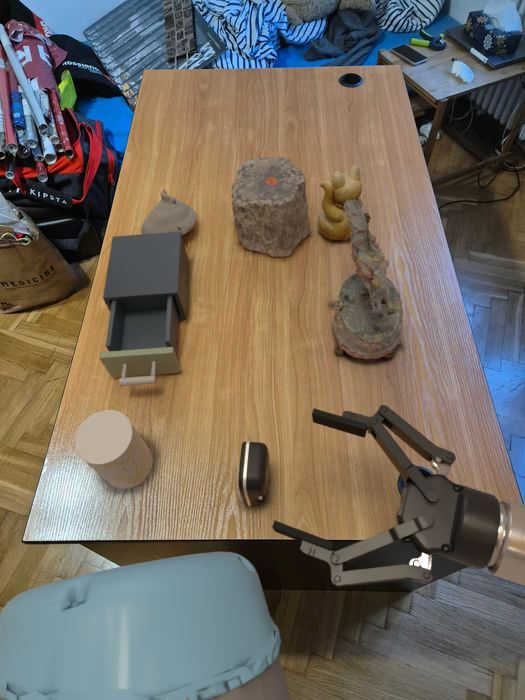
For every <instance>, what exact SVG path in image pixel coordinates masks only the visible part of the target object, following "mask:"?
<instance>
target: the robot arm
mask: <svg viewBox="0 0 525 700" xmlns="http://www.w3.org/2000/svg"><path fill="white" fill-rule="evenodd" d="M311 417H312V423H314V424H316V425H321V426H323V427H327V428H330V429H333V430H336V431H341V432H343V433H346V434H350V435H354V436H357V437H360V438H363V439H366V436H367V434H368V435H371V436H372V438H373V439H374V441H375V442H376V443H377V445H378V446H379V447H380V449H381V450H382V452H383V453H384V454H385V455H386V457H387V459H388V460H389V461H390V463H391V464H392V465H393V466H394V468H395V469H396V471H397V472H398V473H399V475H400V477H401V479H402V481H403V482H404V484H405V485H404V486H403V488H402V491H401V494H400V506H399V507H398V509H397V511H396V515H395V520H396V524H397V525H396V526H393V527H391V528H390V529H388V530H385V531H383V532H382V531H381V532H380V533H377V534H375V535H372V536H370V537H368V538H365V539H363V540H360V541H358V542H355V543H352V544H350V545H348V546H345V547H343V548H341V549H340V548H339V549H338V550H335V551H334V546H335V545H334V543H335V542H334V541H331V540H329V539H326V538H323V537H320V536H317V535H315V534H312V533H309V532H307V531H305V530H301V529H298V528H296V527H294V526H291V525H288V524H285V523H283V522H280V521H277V520H273V523H272V526H271V528H272V529H273V531H274V532H275V533H277V534H279V535H282V536H285V537H287V538H290V539H292V540H295V541H298V542H301V544H300V547H299V551H300V552H301V553H302V554H303V555H304V556H307V557H310V558H312V559H315V560H317V561H319V562H322V563H325V564H327V565H328V566H329V568H330V579H331V581H330V582H331V584H332V586H333V587H335V588H347V587H355V586H363V585H371V584H372V585H373V584H380V583H381V584H382V583H388V582H397V581H398V582H399V581H409V582H413V583H417V584H421V585H427V584H429V583H431V582H432V581H433V579H434V573H433V571H432V563H433V557H435V556H438V557H443V558H445V559H448V560H451V561H453V562H456V563H459V564H462V565H465V566H468V567H471V568H473V569H476V570H480V571H481V570H482V569H485V568H487V570H488V572H489V573H490V574H491V576H496V577H499V578H501V579H504V580H506V581H510V582H513V583H516V584H517V585H521V586H524V587H525V504H523V503H520V502H517V501H515V500H514V501H513V500H511V499H508V498H504V499H502V500H501V501H499V499H498V498H497V497H496V495H495V494H491V493H488V492H485V491H482V490H478V489H475V488H472V487H469V486H466V485H462V484H459V483H456V482H453V481H452V480H451V479H449V478H448V476H449V473H450V471H451V468H452V466H453V465H454V462H455V461H456V460H457V456H456V454H455V453H454V452H453V451H450V450H447V449H446V448H442V447H440V446H438V445H436V444H435V443H433V442H432V441H431V440H430V439H429V438H428V437H426V436H425V435H424V434H423V433H421V432H420V431H419V430H418V429H416V428H415V427H414V426H412V425H411V424H410V423H409V422H408V421H406V420H405V419H404V418H403V417H401V416H400V415H399V414H398V413H397V412H395V411H394V410H393V409H391V408H390V407H389V406H388V405H386V404H381V405H380V406H379V407H378V409H377V410H376V412H375V413H374V414H373V415H371V416H368V415H364V414H360V413H356V412H353V411H350V410H344V411H342V414H341V415H338V414H336V413H332V412H329V411H324V410H322V409H318V408H313V409H312V412H311ZM389 431H390V432H391V433H393V434H394V435H395V436H397V438H399V439H400V440H401V441H402V442H404V444H406V445H407V446H408V447H409V448H410V449H412V450H413V451H414V452H415V453H417V454H418V455H419V456H421V457H422V458H423V459H424V460H426V461H427V462H429V463H430V464H429V465H430V467H431V468H432V469H433V470H434V471H435V472H436V473H435V474H431V475H428V476H426V477H425V476H424V474H423V473H422V472H421V470H420V469H419V468H418V467H417V465H416V464H414V463H413V462H412V461H411V459H410V458H409V456H408V455H407V454H406V453H405V451H403V449H402V448H401V446H400V445H399V444H398V442H397V441H396V440H395V438H394V437H393V436H392V435H391V433H390V432H389ZM407 540H408V541H409V542H410V543H411V544H412V545H413V547H414V548H415V550H416V551H417V552H418V553H419V554H420V556H419V557H416V558H411V559H410V560H409V561H408V564H406V563H405V564H393V565H385V566H378V567H377V566H376V567H370V568H361V569H352V570H344V567H343V566H344V565H347V564H350V563H352V562H355V561H357V560H359V559H363V558H364V557H366V556H369V555H372V554H374V553H376V552H379V551H382V550H385V549H386V548H389V547H391V546H396V545H397V544H400V543H402V542H405V541H407ZM281 644H282V639H281V633H280V629H279V627H278V626H277V624H276V623H275V622H274V620H273V618H272V616H271V614H270V611H269V607H268V604H267V600H266V597H265V594H264V590H263V586H262V582H261V580H260V577H259V573H258V571H257V569H256V568H255V566H254V565H253V563H252V562H251V561H250V560H248V559H247V557H244V556H243V555H241V554H239V553H236V552H231V551H210V552H200V553H194V554H193V553H192V554H186V555H180V556H179V555H178V556H171V557H167V558H166V557H165V558H161V559H160V558H159V559H154V560H149V561H143V562H138V563H133V564H128V565H123V566H118V567H112V568H107V569H103V570H97V571H94V572H90V573H85V574H80V575H76V576H73V577H69V578H65V579H61V580H57V581H53V582H49V583H46V584H42V585H38V586H36V587H31V588H30V589H27V590H24V591H22V592H20V593H18V594H17V595H15V596H13V597H12V598H11V599H10V600H9V601H8V602H7V603H6V604H5V605H4V606H3V608H2V609H1V611H0V700H291V697H290V692H289V688H288V685H287V680H286V677H285V673H284V669H283V664H282V659H281V656H280V649H281Z"/></svg>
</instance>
